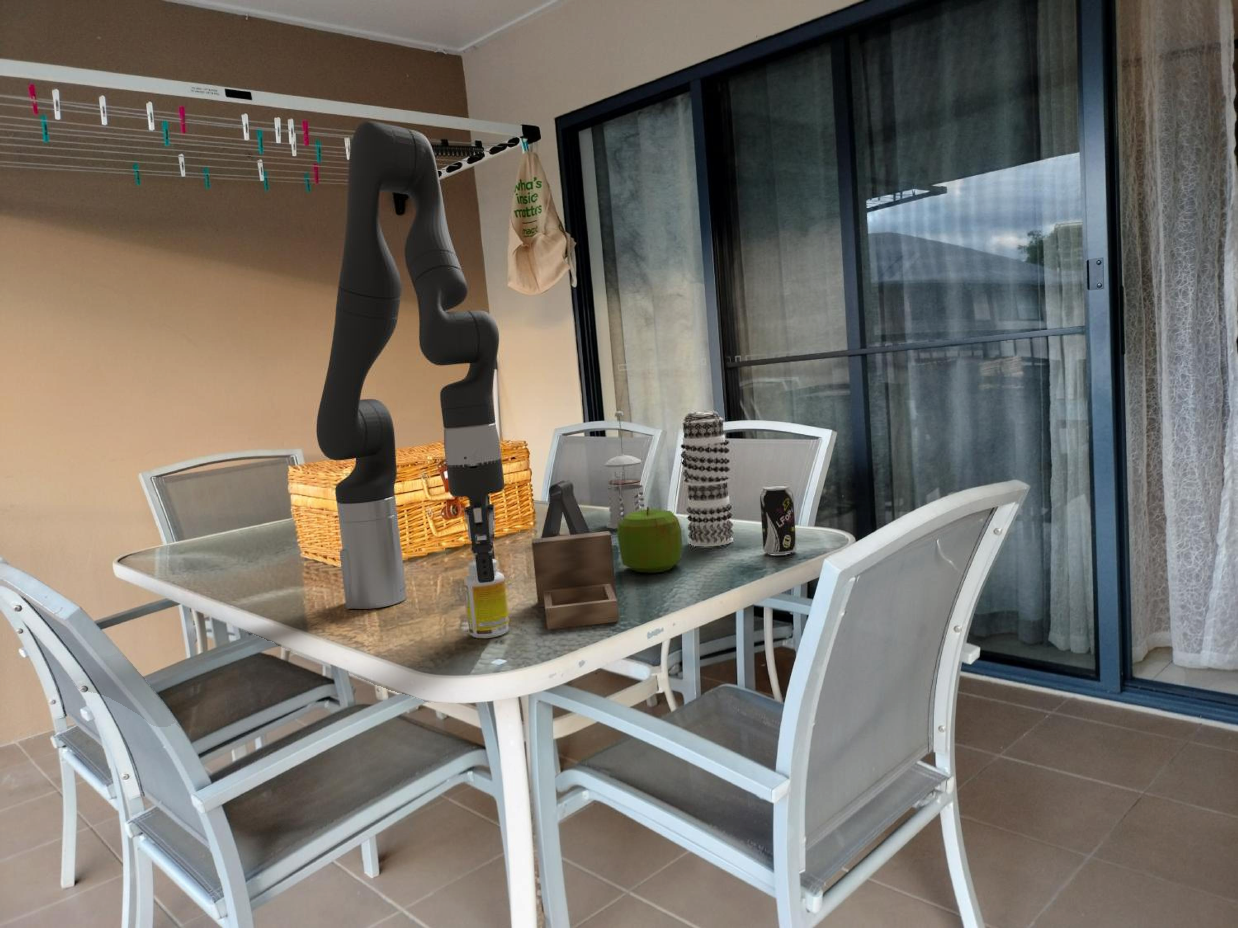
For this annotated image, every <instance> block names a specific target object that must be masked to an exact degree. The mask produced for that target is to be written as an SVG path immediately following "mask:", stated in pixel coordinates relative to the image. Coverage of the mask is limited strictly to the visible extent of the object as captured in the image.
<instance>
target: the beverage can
mask: <svg viewBox="0 0 1238 928" xmlns="http://www.w3.org/2000/svg"><path fill="white" fill-rule="evenodd" d="M762 489H763V490H762V491H761V494H760V495H759V501H760V503H759V504H760V517H761V518H760V519H761V531H762V532H761V535H762V549H763V551H764V553H766V554H768V553H769V554H785V553H791V552H792V553H793V552H795V551H796V550H797V537H796V536H797V535H796V534H797V533H796V517H795V516H796V515H795V500H794V494H793V492H792V491H791V490H790V485H788V484H771V485H766V486H763V487H762ZM769 554H768V555H769Z"/></svg>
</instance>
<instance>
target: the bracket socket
mask: <svg viewBox="0 0 1238 928" xmlns="http://www.w3.org/2000/svg"><path fill="white" fill-rule="evenodd" d="M566 535H567V536H558V537H548V538H541V537H540V538H531V547H532V558H533V567H534V578H535V588H536V597H537V598H536V599H537V608H544V609H545V610H544V611H545V612H544V613H545V618H546V619H545V620H546V621H545V622H546V628H547V629H546V630H548V631H549V630H557V629H565V628H575V627H581V626H582V627H583V626H584V627H585V626H591V625H600V624H608V623H609V624H610V623H618V622H620V621H619V620H620V619H619V618H620V617H619V607H618V600H617V588H616V577H615V565H614V564H615V563H614V555H613V543H612V542H613V541H612V534H611V532H610V530H609V531H608V530H607V531H600V532H597V531H596V532H590V533H586V534H577V535H570V534H566Z"/></svg>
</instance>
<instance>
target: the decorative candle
mask: <svg viewBox="0 0 1238 928" xmlns="http://www.w3.org/2000/svg"><path fill="white" fill-rule="evenodd" d="M723 420H724V418H722V417H721V415H719V413H718V412H717V411H713V410H707V411H706V410H704V411H702V410H701V411H695V412H694V411H693V412H688V413H687V414H686V415H685V417H684V419H683V420H682V421H680V423H681V424H682V427H683V428H682V432H683V437H682V444H681V445H680V448H681V449H684V450H683V451H682V452H681V453H680V457H681V458H682V459H683V460H682V461H681V465H682V466H683V467H684V468H686V469H684V471H683V473H682V475H683V476H684V477H685V478H684V480H683V482H684V485H686V486H687V493H688V496H687V497H688V498H687V507H686V512H687V513H688V516H686V518H687V520H688V521H689V522H690V523H689V524H688V525H687V530H688V531H689V533H688V535H687V536H688V538H689V539H690V541H689V542H688V543H689V545H690V544H691V545H694V546H693V547H695V546H716V545H722V544H727V543H729V542H732V541H733V539H734V538H733V535H734V531H733V530H732V529H733V526H734V523H733V522H732V521H731V520H730V519H731V518H732V516H733V514H732V513H731V512H730V511H731V510H732V508H733V507H732V505H730V496H729V493H728V492H729V491H728V490H729V489H728V482H729V481H730V478H729V477H728V476H727V474H726V473H728V472H730V470H731V468H730V467H728V466H727V465H728V464H729V463H730V459H728V458H727V457H725V455H726V454H728V453H729V452H730V449H729V448H727V447H726V446H728V445H729V444H730V441H729V440H727V439H726V436H725V434H724V421H723ZM733 542H734V541H733ZM691 545H690V546H691Z"/></svg>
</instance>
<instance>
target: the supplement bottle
mask: <svg viewBox="0 0 1238 928" xmlns="http://www.w3.org/2000/svg"><path fill="white" fill-rule="evenodd" d="M467 567H468V576H466V577H465V578H464V580H463V585H464V593H465V596H464V597H465V602H466V603H465V604H466V613H467V621H468V630H469V634H470V635H471V636H472V638H473V637H474V638H477V639H490V638H497V637H501V636H503V635H505V634H506V633H508V631H509V630H510V619H509V610H508V602H507V592H506V591H507V590H506V582H505V581H506V580H505V575H504V574H503V573H502V572H500V571H499V569H498V568H499V567H498V560H497V559H496V558H495V559H493V568H494V576H495V578H494V581H492V582H485V583H480V582H479V581H478V576H477V568H476V560H475V559H474V560H471V561H469V562H468V563H467Z"/></svg>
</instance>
